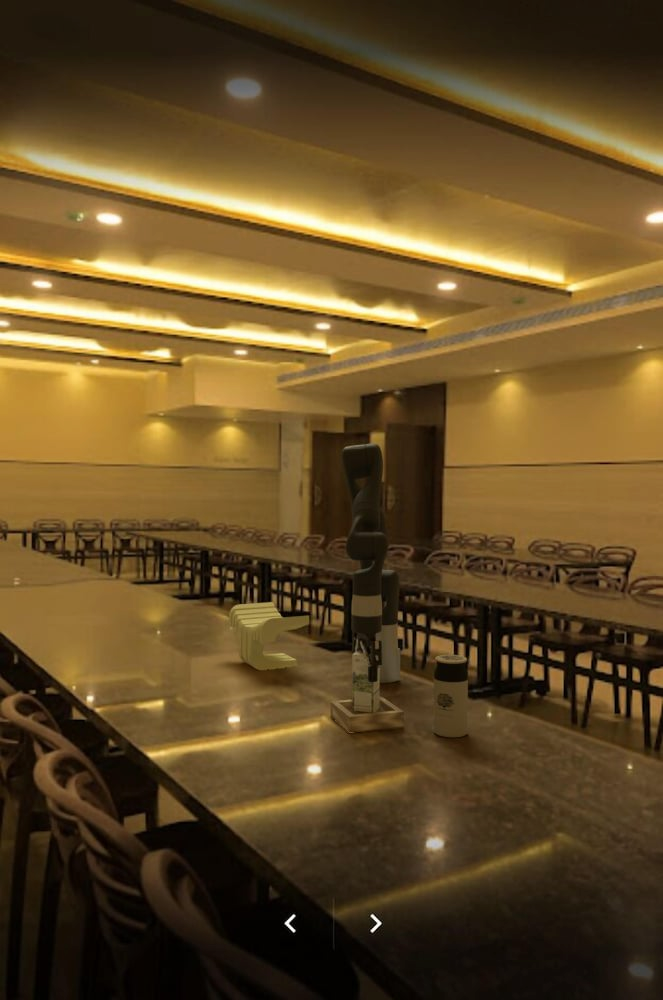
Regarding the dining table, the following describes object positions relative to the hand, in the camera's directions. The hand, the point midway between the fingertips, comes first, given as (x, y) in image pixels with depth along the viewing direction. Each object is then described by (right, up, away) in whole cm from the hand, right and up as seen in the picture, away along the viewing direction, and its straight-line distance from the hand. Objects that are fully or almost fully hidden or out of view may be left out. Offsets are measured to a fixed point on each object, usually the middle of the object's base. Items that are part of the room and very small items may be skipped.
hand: (366, 677), depth 197 cm
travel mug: (+20, -12, -8) cm, 24 cm away
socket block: (0, -11, 0) cm, 11 cm away
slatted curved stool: (-30, -10, +62) cm, 69 cm away
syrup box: (0, -8, 0) cm, 8 cm away
